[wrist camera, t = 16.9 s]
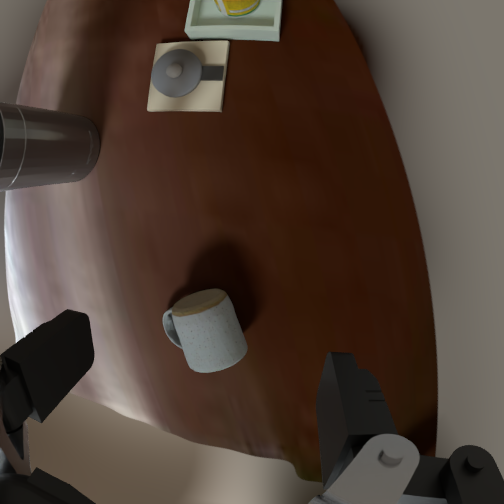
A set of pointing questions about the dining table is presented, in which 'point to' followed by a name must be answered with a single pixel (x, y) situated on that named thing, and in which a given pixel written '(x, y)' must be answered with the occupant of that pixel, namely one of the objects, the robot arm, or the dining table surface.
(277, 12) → the tray
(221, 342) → the ceramic mug
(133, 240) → the dining table surface
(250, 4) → the supplement bottle
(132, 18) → the dining table surface
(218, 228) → the dining table surface
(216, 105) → the beige board with disc
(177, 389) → the dining table surface
